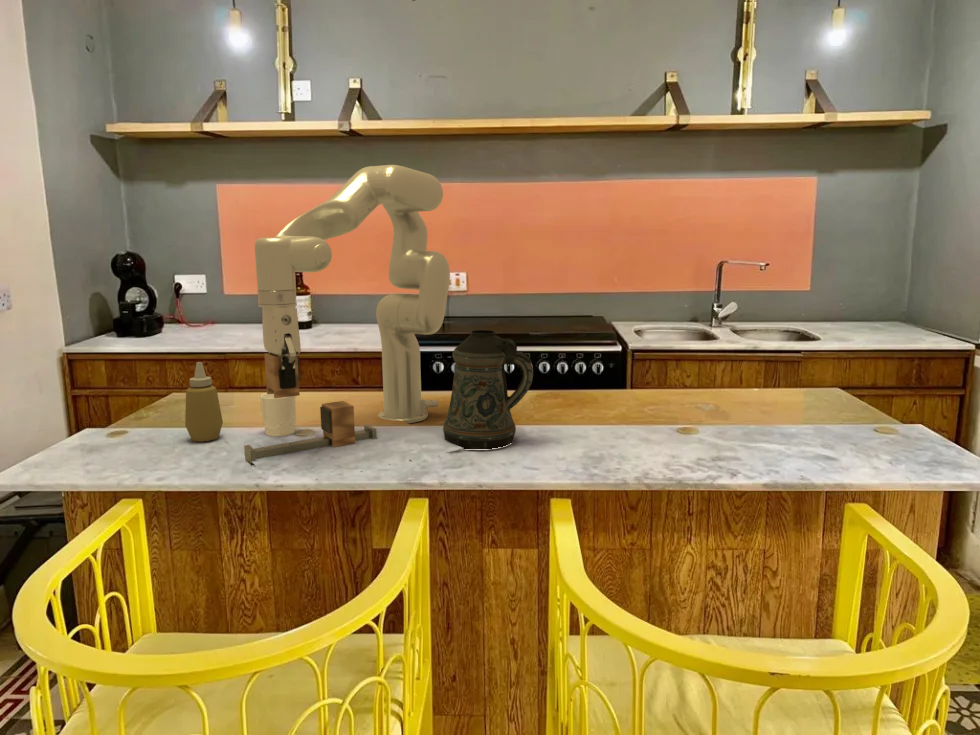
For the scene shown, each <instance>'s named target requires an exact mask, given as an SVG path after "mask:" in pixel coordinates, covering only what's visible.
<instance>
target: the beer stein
mask: <svg viewBox="0 0 980 735" xmlns="http://www.w3.org/2000/svg"><path fill="white" fill-rule="evenodd" d="M517 350H518V346H517V344H516V343H515V341H514V340H513V339H510V338H503V337H500V336H498V335H497V334H496V332H495V331H493V330H483V329H482V330H481V329H480V330H472V331H471V333H470V334H469V336H468V337H467V338H465V339H464V340H463V341H462V342H460V344H458V345H457V346H456V347H455V348H454V349H453V351H452V354H451V355H452V359H453V362H454V372H453V373H454V375H453V382H452V391H451V395H450V396H451V397H450V402H449V407H448V410H447V415H446V418H445V420H444V422H443V425H442V431H443V436H444V441H446V442H448V443H451V444H453V445H456V446H458V447H460V448H461V449H492V448H498V447H503V446H506V445H508V444H510V443H512V442H513V443H514V440H513V439H515V434H516V431H517V429H516V423H515V421H514V419H513V416H512V413H511V410H512V408H514V407H515V406H516V405H517V404H518V403H519V402H520V401H521V400H522V399H523V398H524V397H525V395H526V394H527V393H528V391H529V389H530V388H531V385H532V383H533V379H534V378H533V377H534V367H533V364H532V360H531V358H529V357H528V356H527V355H526V353H523V352H521V351H517ZM505 365H506V366H507V365H510V366H511V365H512V366H513V365H514V366H516V367H518V368H519V369H520V370H521V374H522V378H521V380H520V382H519V384H518V386H517V388H516V389H515V390H514V391H513V392H512V393H511V395H510V396H509V395H508V384H507V376H506V371H505V370H506V369H505ZM513 443H512V444H513Z"/></svg>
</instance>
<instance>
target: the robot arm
mask: <svg viewBox="0 0 980 735" xmlns="http://www.w3.org/2000/svg"><path fill="white" fill-rule="evenodd" d="M443 196H444V190H443V186H442V184H441V183H440V181H439V179H438V178H437V177H436V176H435V175H432V174H430V173H427V172H423V171H419V170H416V169H413V168H411V167H410V168H409V167H407V166H402V165H398V164H386V165H385V164H384V165H383V164H382V165H370V166H365V167H363V168H361V169H359V170H357V171H356V172H355V173H354V174H353V175H352V176H351V177H350V178H349V179H348V180H347V181H346V182H345V183H344V184H343V185H342V186H340V188H339V189H338V190H337V191H336V192H335V193H334V194H333V195H332V196H331V197H330V198H328V199H327V200H326V201H324V202H322V203H321V204H318V205H317V206H315V207H313V208H312V209H310V210H308V211H306V212H305V213H303V214H301V215H299V216H297V217H296V218H294V219H293V220H292V221H290V222H289V223H288V224H286V226H284V227H283V228H282V229H281V230H280V231H279V232H278V233H277V234H276V235H275V237H272V236H271V237H269V236H268V237H260V238H258V239H256V240H255V243H254V256H255V259H254V260H255V272H256V287H257V300H258V302H257V303H258V307H259V308H262V311H261V312H262V314H261V315H262V316H261V317H262V340H263V341H262V342H263V348H264V350H265V351H267V353H272V354H275V355H278V357H279V363H280V368H281V370H279V381H280V388H281V389H288V388H295V387H296V376H295V357H296V355H299V354H300V353H301V350H302V348H301V346H302V345H301V337H300V329H299V328H300V327H299V321H298V316H297V310H296V306H297V305H298V304H297V303H298V302H297V300H298V299H297V288H296V285H297V284H296V273H319V272H321V271H323V270H325V269H326V268H328V267H329V265H330V263H331V262H332V257H333V253H332V248H331V247H330V244H329V243H328V242H327V241H326V240H328V239H332V238H335V237H336V238H338V237H341V236H343V235H346V234H348V233H351V232H353V231H354V230H356V229H358V228H359V226H360V225H361V224H362V223H363V222H364V221H365V220H366V219H367V218H368V216H369V215H370V214H371V213H372V212H373V211H375V209H376V208H377V207H378V206H380V205H382V206H383V208H384V210H385V211H386V213H387V215H388V216H389V219H390V220H391V223H392V224H391V225H392V228H393V237H392V244H391V246H392V247H391V252H390V258H389V266H388V279H389V282H390V284H391V285H393V287H395V288H397V289H404V290H414V291H415V290H416V291H418V294H412V293H391V294H387V295H386V296H383V297H382V298H381V299H380V301H379V302H378V303H377V306H376V311H375V315H376V322H377V325H378V330H379V333H380V342H381V344H380V345H381V364H382V368H381V369H382V387H383V388H382V390H383V396H382V397H383V410H382V411H380V412H379V413H378V416H377V417H378V418H379V419H382V420H385V421H392V422H394V421H395V422H404V423H406V424H413V423H418V422H421V421H425V420H426V419H427V418H428V416H429V414H428V412H427V410H429V408H437V407H438V406H439V400H438V399H436V398H435V399H431V400H429V399H428V398H427V399H424V398H422V379H421V378H422V376H421V374H422V373H421V348H420V344H419V342H418V339H417V337H416V335H426V336H427V335H434V334H435V333H437V332H438V331H439V330H440V329H441V327H442V325H443V322H444V319H445V313H446V309H447V308H446V307H447V302H448V301H447V300H448V295H449V294H448V293H449V287H450V278H451V271H450V265H449V262H448V260H447V258H446V257H445V255H443V253H441V252H438V251H435V250H427V249H428V248H427V246H428V237H429V234H428V232H429V231H428V228H427V225H426V223H425V221H424V220H423V217H422V216H421V214H420V213H419V212H431V211H434V210H437V208H438V207H439V206H441V203H442V201H443V198H444V197H443ZM282 352H287V354H282ZM285 357H287V358H285ZM283 358H285V360H283Z"/></svg>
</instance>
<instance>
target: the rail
mask: <svg viewBox="0 0 980 735" xmlns="http://www.w3.org/2000/svg"><path fill="white" fill-rule="evenodd" d="M363 428H364V429H360V430H355V442H357V441H363V440H369V439H371V440H376V439H378V436H377V435H378V434H377V428H375V427H373V426H371V425H369V424H365V425H364V426H363ZM330 446H332V439H330V438H328V437H327V436H325V437H324V436H321V437H320V436H319V437H313V438H308V439H302V440H295V441H291V442H284V443H280V444H279V443H278V444H274V445H272V444H271V445H268V446H263V447H256V448H253V446H251V445H250V444H247V445H244V446H243V447H244V448H243V449H244V459H245V460H246V461H245V460H244V461H245V462H246V463H248V464H249V465H250V466H251V467H253V466H256V464H255V463H253V462H255V461H257V460H258V459H259V460H260V459H264V458H269V457H274V456H275V457H276V456H281V455H284V454H285V455H287V454H291V453H296V452H302V451H308V450H313V449H319V448H325V447H330ZM252 465H253V466H252Z"/></svg>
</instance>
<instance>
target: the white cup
mask: <svg viewBox="0 0 980 735" xmlns="http://www.w3.org/2000/svg"><path fill="white" fill-rule="evenodd" d="M296 397H297V396H291V397H283V398H274V394H267V392H265V393H262V394H260V397H259V398H260V404H261V405H260V406H261V414H262V422H263V426H264V432H265V433H264V434H265V435H266V436H270V437H284V436H288V435H293V434H294V433H295V432H296V422H297V421H296V420H297V409H296V408H297V407H296V405H297V400H296V399H297V398H296Z"/></svg>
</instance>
